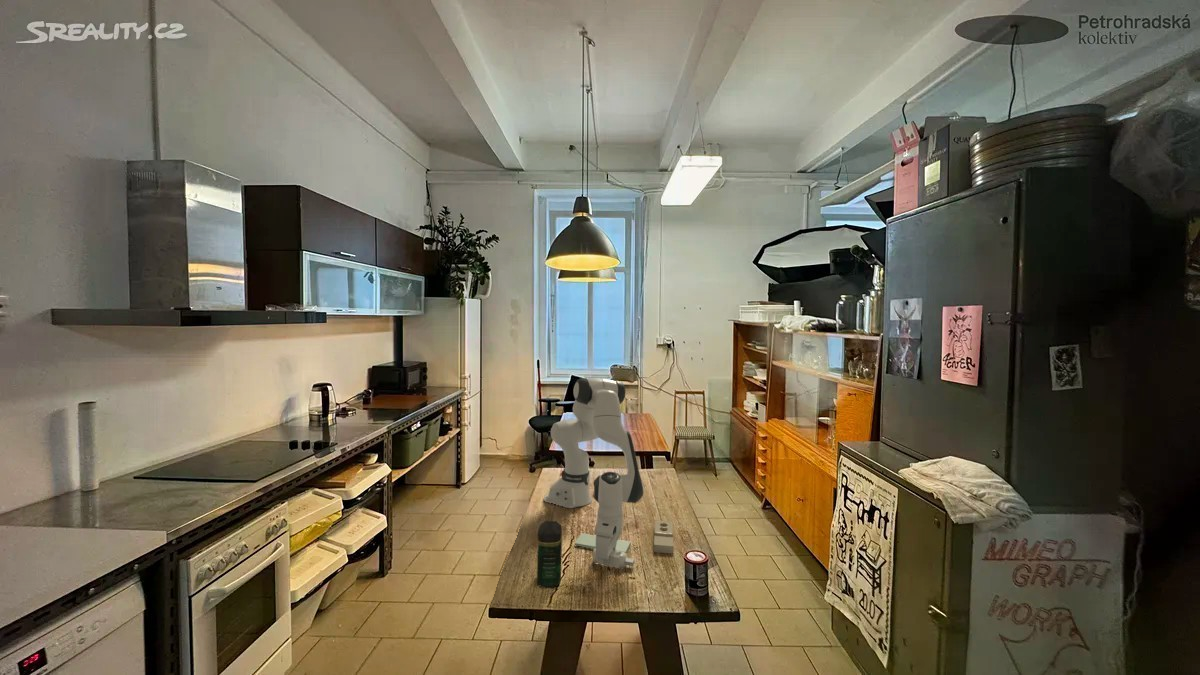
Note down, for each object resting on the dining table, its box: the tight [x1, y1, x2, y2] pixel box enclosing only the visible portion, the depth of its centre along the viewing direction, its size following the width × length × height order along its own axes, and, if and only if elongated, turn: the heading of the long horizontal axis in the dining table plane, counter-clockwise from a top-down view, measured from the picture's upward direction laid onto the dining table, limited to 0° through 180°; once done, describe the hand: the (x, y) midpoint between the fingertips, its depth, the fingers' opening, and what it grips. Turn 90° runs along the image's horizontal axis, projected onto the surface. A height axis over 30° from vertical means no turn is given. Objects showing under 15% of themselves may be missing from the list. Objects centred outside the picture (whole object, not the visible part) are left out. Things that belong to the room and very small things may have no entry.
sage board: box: [574, 532, 632, 554], centre depth 170 cm, size 20×8×1 cm, turn 72°
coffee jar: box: [536, 520, 563, 588], centre depth 147 cm, size 10×8×19 cm
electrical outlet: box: [653, 520, 675, 554], centre depth 174 cm, size 7×4×18 cm
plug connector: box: [592, 548, 635, 570], centre depth 157 cm, size 15×4×4 cm, turn 72°
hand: (609, 558), depth 157 cm, fingers open, 6 cm apart
